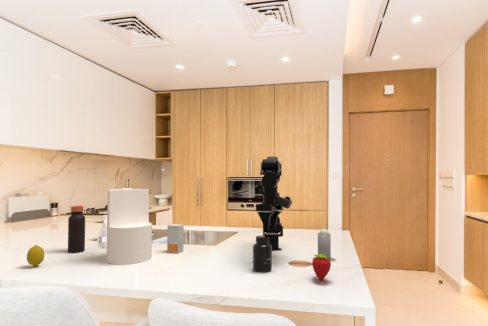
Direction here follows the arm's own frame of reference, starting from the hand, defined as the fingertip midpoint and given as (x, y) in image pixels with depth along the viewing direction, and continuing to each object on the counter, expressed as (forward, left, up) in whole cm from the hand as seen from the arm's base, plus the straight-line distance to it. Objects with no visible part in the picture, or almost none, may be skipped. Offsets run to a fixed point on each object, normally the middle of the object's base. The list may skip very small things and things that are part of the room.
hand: (270, 229), depth 134 cm
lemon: (-18, -87, -13) cm, 89 cm away
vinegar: (-41, -77, -13) cm, 88 cm away
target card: (+7, +13, -12) cm, 20 cm away
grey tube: (+6, +20, -12) cm, 24 cm away
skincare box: (-27, -35, -13) cm, 45 cm away
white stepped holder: (-20, -54, -13) cm, 58 cm away
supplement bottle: (+11, -8, -13) cm, 19 cm away
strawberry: (+28, +6, -13) cm, 32 cm away
